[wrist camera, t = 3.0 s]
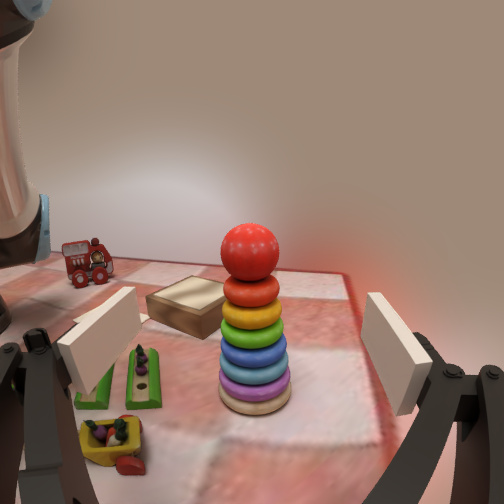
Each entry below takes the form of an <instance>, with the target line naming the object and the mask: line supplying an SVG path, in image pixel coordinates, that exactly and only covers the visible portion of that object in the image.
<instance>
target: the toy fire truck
mask: <svg viewBox="0 0 504 504" xmlns="http://www.w3.org/2000/svg"><path fill="white" fill-rule="evenodd" d="M94 251H95V252H94ZM99 251H100V252H99ZM92 252H93V253H92ZM101 252H102V253H103V255H104V262H106V266H105V263H104V262H101V261H102V259H103V255H102V253H101ZM91 253H92V255H91ZM62 254H63V256H64V257H65V261H66V267H67V273H68V278H69V279H70V280H72V282H73V284H74V286H75V287H77V288H83V287H85V286H86V285H87V283H88V277H92V279H93V281H94V282H95V283H96V284H104V283H105V282H106V281H107V280H108V274H111V273H112V272H113V262H112V257H111V256H110V254H109V253H108V251H107V250H106V248H105V247H104V245H103V244H99V240H98V239H97V238H93V239H92V240H91V245H90V242H89V241H88V240H84V241H77V242H71V243H65V244H63V245H62ZM90 255H91V259H92V261H93V262H94V263H92V264H91V261H90ZM90 264H91V269H90V267H89V266H90Z"/></svg>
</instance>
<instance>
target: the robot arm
mask: <svg viewBox="0 0 504 504" xmlns="http://www.w3.org/2000/svg"><path fill="white" fill-rule="evenodd" d="M51 3H52V0H0V269H4V268H9V267H14V266H19V265H24V264H30V263H32V264H35V263H36V262H39V261H43V260H46V259H47V258H48V257H49V256H50V253H51V249H50V231H49V198H48V196H47V195H43V194H39V193H38V190H37V189H36V187H35V186H34V185H33V184H32V183H30V182H29V181H27V176H26V171H25V165H24V159H23V152H22V144H21V136H20V125H19V112H18V54H19V47H20V45H21V44H22V43H23V42H24V41H25V40H26V39H27V37H29V36H30V34H31V33H32V32H33V28H34V21H35V20H37V19H39V18H41V17H43V16H44V15H46V13H47V12H48V10H49V8H50V6H51ZM10 321H11V316H10V312H9V309H8V306H7V305H6V303H5V301H4V300H3V298H2V296H1V295H0V333H1V332H2V331H4V330H5V329H6V327H7V326H8V325H9V323H10ZM141 329H142V324H141V318H140V313H139V307H138V301H137V295H136V289H135V287H125V286H124V287H123V288H122V289H121V290H119V291H118V292H117V293H115V294H114V295H113V296H112V297H110V298H109V299H108V300H107V301H105V302H104V303H103V304H102V305H101V306H99V307H98V308H97V309H96V310H94V311H93V312H92V313H91V314H90V315H88V316H87V317H86V318H85V319H83V320H82V321H81V322H79V323H77V324H75V325H74V326H72V327H71V328H70V329H69V330H68V331H66V332H65V333H64V334H63V335H62V336H60V337H59V338H58V339H57V340H56V341H55V342H53V343H52V344H51V343H50V340H49V337H48V334H47V331H46V330H45V329H44V328H35V329H31V330H29V331H27V332H26V333H25V334H24V335H23V340H24V342H25V345H26V348H27V350H28V352H21V350H20V347H19V345H18V344H17V343H13V342H12V343H7V344H4V345H3V346H2V347H1V348H0V504H15V497H16V488H17V480H18V483H19V491H20V498H21V504H99V503H98V500H97V498H96V495H95V492H94V489H93V486H92V483H91V480H90V477H89V474H88V470H87V467H86V464H85V460H84V456H83V453H82V449H81V445H80V440H79V436H78V432H77V427H76V422H75V417H74V411H73V405H72V399H71V393H70V390H69V388H68V385H69V384H70V383H71V382H72V383H73V386H74V388H75V390H76V392H79V393H82V394H86V395H89V394H90V393H91V391H92V390H93V389H94V387H95V386H96V385H97V384H98V382H99V381H100V380H101V379H102V377H103V376H104V375H105V374H106V372H107V371H108V370H109V369H110V367H111V366H112V365H113V364H114V362H115V361H116V360H117V359H118V357H119V356H120V355H121V354H122V352H123V351H124V350H125V349H126V348H127V346H128V345H129V344H130V343H131V341H132V340H133V339H134V338H135V337H136V335H137V334H138V333H139V332H140V331H141ZM361 338H362V340H363V342H364V345H365V347H366V349H367V351H368V353H369V355H370V358H371V360H372V362H373V364H374V367H375V369H376V371H377V373H378V376H379V378H380V380H381V383H382V385H383V387H384V390H385V392H386V394H387V397H388V399H389V401H390V404H391V406H392V409H393V411H394V414H395V416H401V415H407V414H411V413H412V412H413V409H414V407H415V405H416V404H417V406H418V408H419V412H418V414H417V416H416V418H415V420H414V422H413V424H412V426H411V428H410V430H409V432H408V433H407V435H406V437H405V439H404V441H403V442H402V444H401V446H400V448H399V449H398V451H397V453H396V454H395V456H394V458H393V459H392V461H391V463H390V464H389V466H388V467H387V469H386V470H385V472H384V473H383V475H382V476H381V478H380V479H379V481H378V482H377V484H376V485H375V487H374V488H373V489H372V491H371V492H370V493H369V495H368V496H367V498H366V499H365V500H364V501H363V503H362V504H418V502H419V501H420V499H421V497H422V495H423V493H424V491H425V489H426V487H427V485H428V483H429V481H430V479H431V477H432V474H433V472H434V470H435V468H436V466H437V463H438V461H439V459H440V456H441V454H442V451H443V449H444V446H445V443H446V441H447V438H448V435H449V433H450V430H451V427H452V424H453V422H457V442H456V443H457V444H456V459H455V471H454V479H453V487H452V494H451V500H450V504H504V372H503V371H502V370H501V369H500V368H499V367H497V366H495V365H494V366H493V365H485V366H483V367H482V368H481V370H480V372H479V375H465V372H464V371H463V369H461V368H460V367H459V366H456V365H454V364H446V363H445V362H444V360H443V359H442V357H441V356H440V355H439V354H438V352H437V351H436V350H435V349H434V347H433V346H432V345H431V344H430V342H429V341H428V340H427V338H426V337H425V336H423V335H422V334H420V333H418V332H415V333H412V332H411V331H410V330H409V328H408V327H407V326H406V324H405V323H404V322H403V321H402V319H401V318H400V317H399V315H398V314H397V313H396V312H395V310H394V309H393V308H392V307H391V305H390V304H389V303H388V301H387V300H386V299H385V298H384V297H383V295H382V294H381V293H380V292H377V293H376V292H375V293H367V300H366V306H365V313H364V319H363V325H362V330H361ZM11 382H12V384H13V386H14V387H13V388H12V384H11ZM23 445H24V448H25V462H26V470H20V471H19V467H20V461H21V455H22V450H23Z"/></svg>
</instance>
